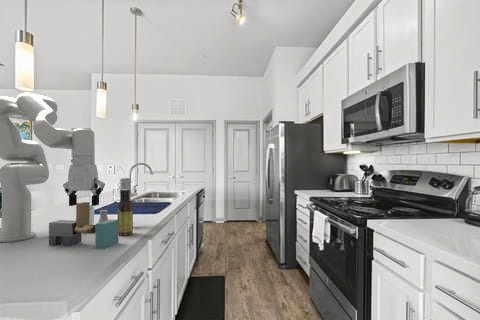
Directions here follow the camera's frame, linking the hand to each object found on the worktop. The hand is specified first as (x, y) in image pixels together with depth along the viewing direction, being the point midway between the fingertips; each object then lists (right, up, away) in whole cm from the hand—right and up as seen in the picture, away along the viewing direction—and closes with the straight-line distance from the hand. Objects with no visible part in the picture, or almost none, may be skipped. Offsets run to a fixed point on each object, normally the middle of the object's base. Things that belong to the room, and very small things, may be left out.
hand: (84, 205), depth 102 cm
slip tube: (-3, -11, 0) cm, 11 cm away
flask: (-2, -16, +18) cm, 24 cm away
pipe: (+4, -16, +28) cm, 32 cm away
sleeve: (-8, -15, +1) cm, 17 cm away
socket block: (+10, -15, -2) cm, 18 cm away
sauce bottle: (+10, -16, +14) cm, 23 cm away
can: (-12, -16, +21) cm, 29 cm away
